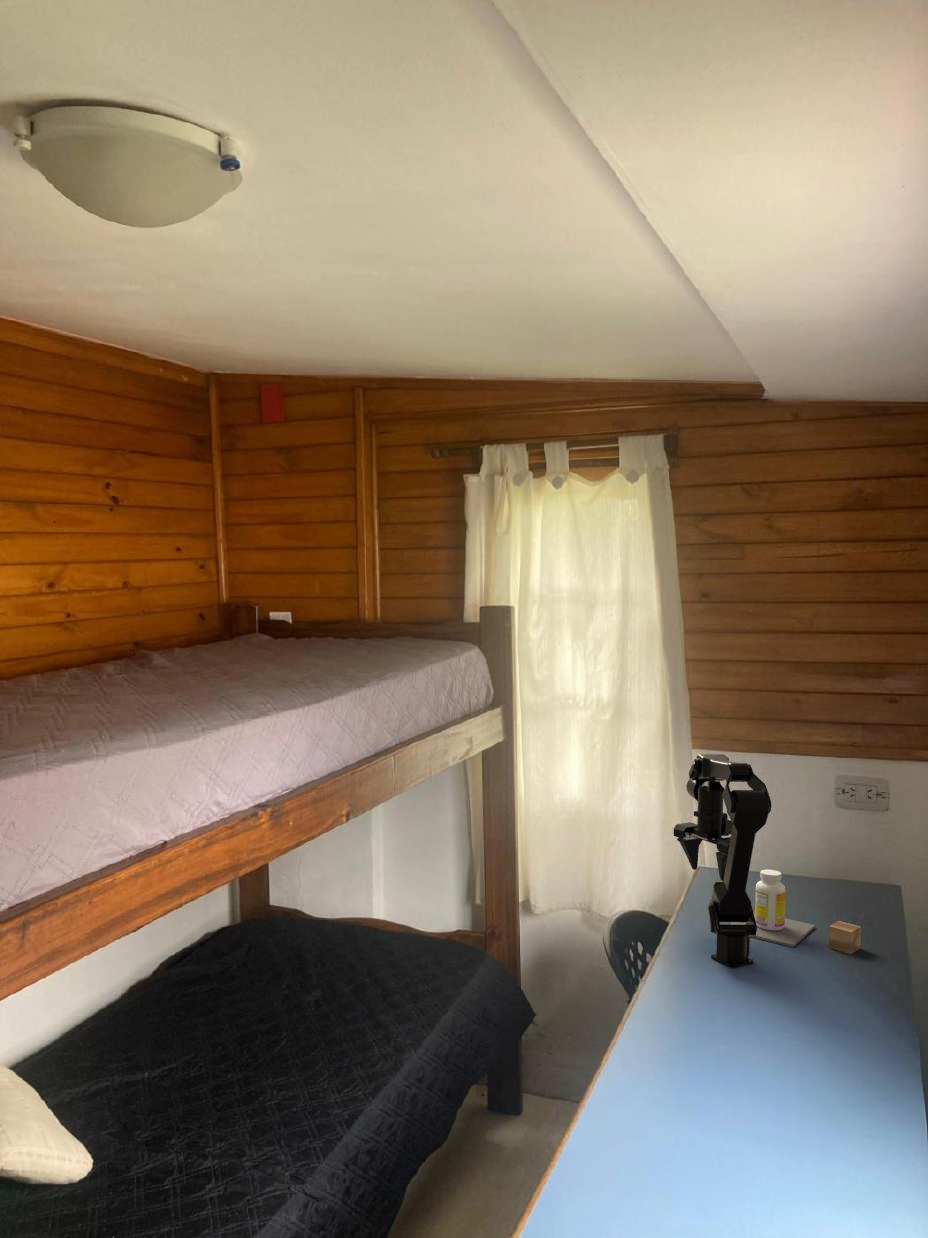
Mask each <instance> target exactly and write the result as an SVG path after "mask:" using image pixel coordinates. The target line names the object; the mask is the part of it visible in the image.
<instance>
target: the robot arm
mask: <svg viewBox="0 0 928 1238" xmlns="http://www.w3.org/2000/svg"><path fill="white" fill-rule="evenodd" d="M688 778H689V779H688V781H687V783H686V791H687V793H688V795H689V796H690V797H692V798H693V799H695V801H697V810H694V811H693V817H697V818H696V820H697V821H696V823H693V822H689V821H688V822H684V823H683V822H682V823H677V824H675V826H674V828H673V836H674V837H675V838H676V840H677V842H679V844H680V846H681V848H682V850H683V851H684V853H685V856H686V858H687V860H688V862H689V864H690V867H691V869H692V870H693V871H694V870H697V869H698V865H699V854H700V853H699V851H700V845H701V843H702V841H704V842H708V843H710V844H714V845H716V849H717V852H715V855H716V856H715V857H716V862H717V868H718V869H717V871H718V876H719V879H720V881H716V882H714V884H713V890H712V894H711V899H710V900H709V903H708V906H707V911H708V918H709V928H710V930H709V932H711V933H713V934H715V935H716V953H713V954H711V955H710V958H711V959H714V960H715V961H718V962H720V963H721V964H723V965H725V966H727V967H730V968H738V967H741V966H745V965H749V964H753V963H754V962H755V961H754V959H753V958H750V940H751V939H750V938H751V937H749V935H756V932H757V925H756V921H755V917H754V913H753V911H754V909H753V906H752V901H751V899H750V897H749V893H748V892H747V884H748V880H749V875H750V868H751V862H752V857H753V856H752V855H753V850H754V845H755V839H756V834H757V833H759V831H760V830H761V829H762V828H764V826H765V825H767V821H768V817H769V814H770V812H771V811H772V800H771V795H770V794H769V792H768V788H767V785H766V784H765V783H764V781H762V779H761V778H760V777H758V776H757V775H756V774H755V773H754V770H753V767H752V765H751V764H749V763H747V762H736V761H732V760H731V761H730V757H728V756H727V755H726V754H722V753H721V754H720V753H719V754H718V753H717V754H715V753H713V754H712V753H711V754H709V753H698V754H697V755H696V758H695V759H694V760H693V762H692V765H691V767H690V770H689V771H688ZM723 781H725V783H726V784H725V786H723V785H722V784H721V782H723ZM731 783H746V785H747V786H748V787H749V788H750V789H733V790H731V788H730V784H731ZM724 805H725V808H726V812H724ZM728 817H729V819H728ZM732 922H746V925H732V924H730V923H732ZM721 923H722V924H721ZM723 923H725V924H723ZM726 923H727V924H726ZM728 923H729V924H728Z"/></svg>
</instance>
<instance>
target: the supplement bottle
mask: <svg viewBox="0 0 928 1238" xmlns="http://www.w3.org/2000/svg"><path fill="white" fill-rule="evenodd" d="M759 876H760V880H759V881H757V882H756V884H755V905H754V906H755V907H754V912H755V921H756V925H757V926H758V927H759V928H761V929H764V930H770V931H778V930H782V929H783V928H784V926H785V918H786V886H785V885H784V884H783V883H782V882H781V880H782V872H781V871H779V870H775V869H762V870H760V872H759Z"/></svg>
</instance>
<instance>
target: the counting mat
mask: <svg viewBox="0 0 928 1238" xmlns="http://www.w3.org/2000/svg"><path fill="white" fill-rule="evenodd" d="M753 913H754V917H755V910H753ZM729 924H732V925H746V922H729ZM815 928H816V925H815V924H811V923H807V922H803V921H799V920H795V919H790V918H786V917H785V926H784V928H783V929H782V930H778V931H770V930H764V929H761V928H759V927H758V926H757V932H756V935H749V938H752V939H757V940H761V941H766V942H769V943H773V944H777V943H778V945H782V946H787V947H790V948H794V947H795V946H797V945H798V944H799V943H800V942H801V941H802V940H803V939H804V938H805V937H806V936H807V935H808V934H810V932H812V931H813V930H814V929H815Z"/></svg>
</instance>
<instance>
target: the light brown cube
mask: <svg viewBox="0 0 928 1238" xmlns="http://www.w3.org/2000/svg"><path fill="white" fill-rule="evenodd" d="M861 935H862V926H859V925H856V924H853V923H848V922H845V921H840V920H837V921H836V922H834V923H832V924H830V925H828V946H827V947H828V948H827V949H831V950H835V951H837V952H841V953H845V954H848V955H852V954H854V953H855V952H857V951H859V950H860V949H861V940H862V939H861Z"/></svg>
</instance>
